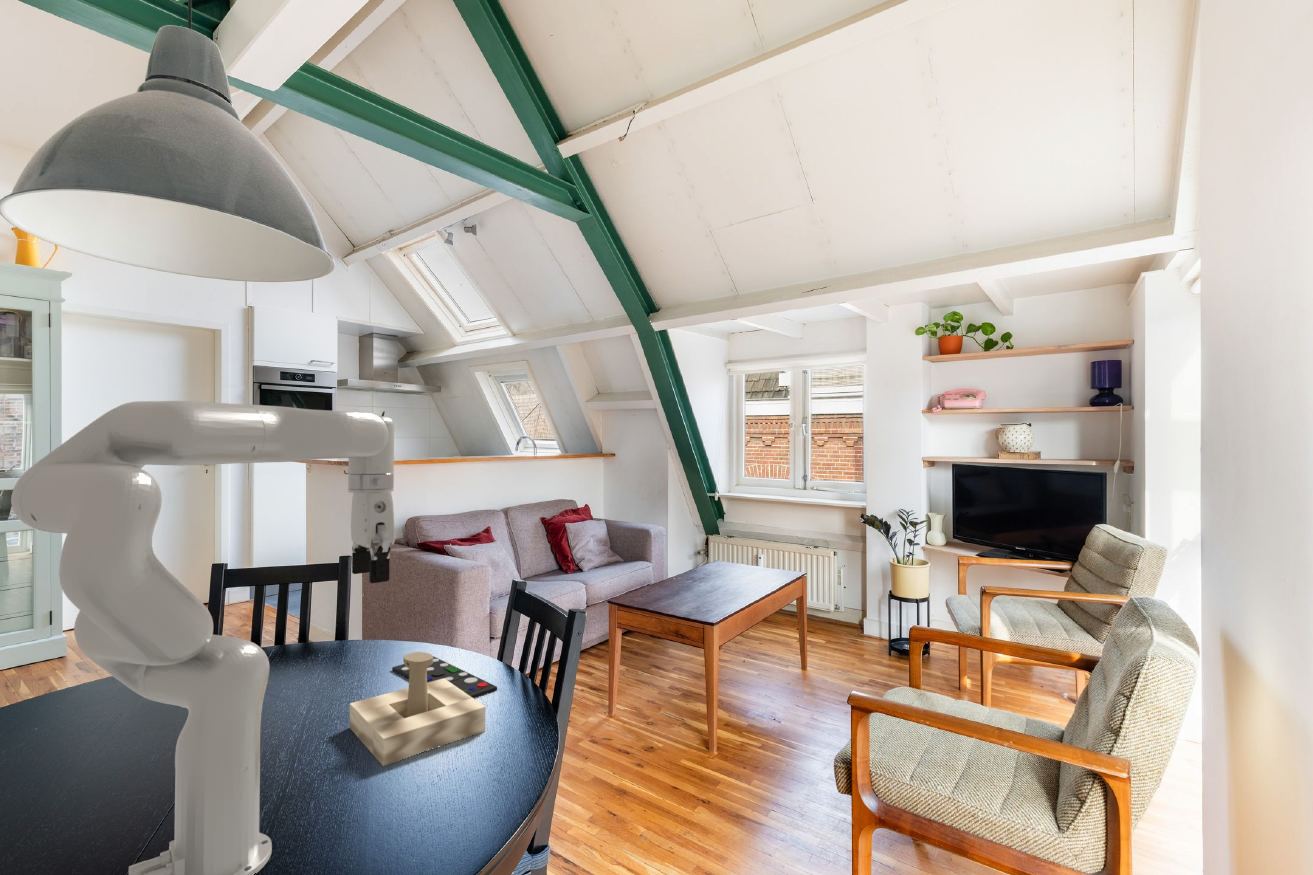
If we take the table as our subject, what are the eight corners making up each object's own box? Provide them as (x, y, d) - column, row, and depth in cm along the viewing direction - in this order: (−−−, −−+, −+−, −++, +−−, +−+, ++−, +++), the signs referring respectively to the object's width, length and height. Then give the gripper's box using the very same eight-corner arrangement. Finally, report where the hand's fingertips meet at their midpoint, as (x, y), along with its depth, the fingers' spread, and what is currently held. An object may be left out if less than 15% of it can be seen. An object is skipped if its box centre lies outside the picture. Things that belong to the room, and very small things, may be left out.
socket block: (383, 766, 110) (383, 738, 110) (349, 727, 125) (349, 703, 125) (485, 731, 124) (485, 706, 124) (443, 700, 138) (444, 678, 138)
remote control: (454, 707, 136) (454, 698, 136) (392, 672, 156) (392, 664, 156) (497, 692, 144) (497, 684, 144) (432, 661, 164) (432, 653, 164)
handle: (416, 739, 120) (417, 663, 120) (397, 730, 124) (398, 656, 124) (437, 729, 124) (438, 656, 124) (418, 721, 128) (419, 650, 128)
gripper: (410, 485, 107) (408, 582, 107) (376, 480, 119) (375, 567, 119) (364, 487, 102) (363, 589, 101) (335, 481, 114) (333, 572, 114)
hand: (370, 577), depth 110 cm, fingers open, 9 cm apart
